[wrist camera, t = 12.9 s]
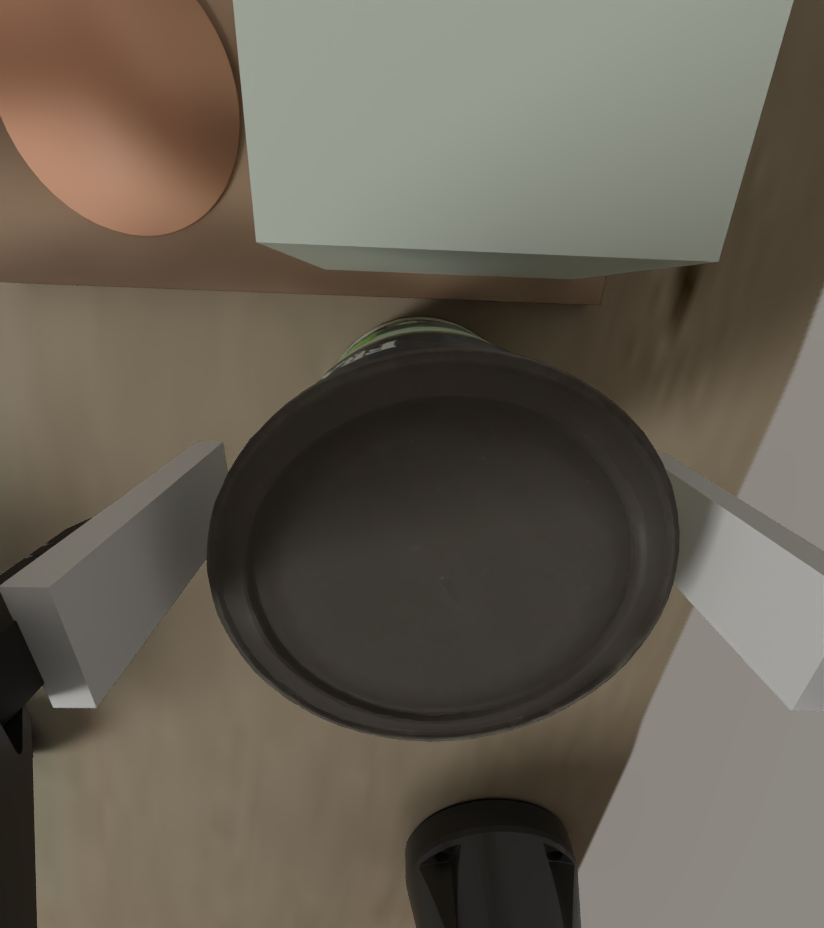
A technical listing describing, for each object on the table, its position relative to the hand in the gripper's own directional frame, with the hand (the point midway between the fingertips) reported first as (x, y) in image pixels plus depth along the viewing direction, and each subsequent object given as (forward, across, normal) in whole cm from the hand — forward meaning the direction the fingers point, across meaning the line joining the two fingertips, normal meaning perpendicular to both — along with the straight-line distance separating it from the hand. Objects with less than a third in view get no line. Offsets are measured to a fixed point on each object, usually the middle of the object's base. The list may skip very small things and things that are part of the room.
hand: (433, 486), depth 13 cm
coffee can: (+10, 0, +1) cm, 10 cm away
